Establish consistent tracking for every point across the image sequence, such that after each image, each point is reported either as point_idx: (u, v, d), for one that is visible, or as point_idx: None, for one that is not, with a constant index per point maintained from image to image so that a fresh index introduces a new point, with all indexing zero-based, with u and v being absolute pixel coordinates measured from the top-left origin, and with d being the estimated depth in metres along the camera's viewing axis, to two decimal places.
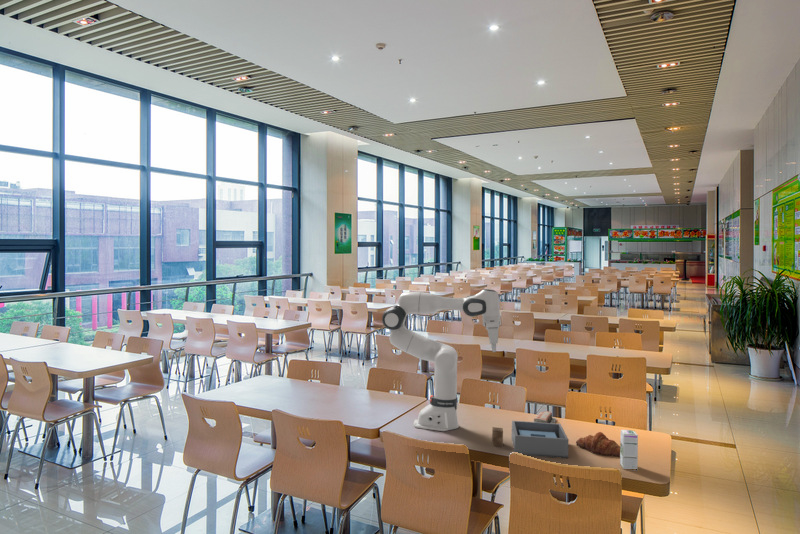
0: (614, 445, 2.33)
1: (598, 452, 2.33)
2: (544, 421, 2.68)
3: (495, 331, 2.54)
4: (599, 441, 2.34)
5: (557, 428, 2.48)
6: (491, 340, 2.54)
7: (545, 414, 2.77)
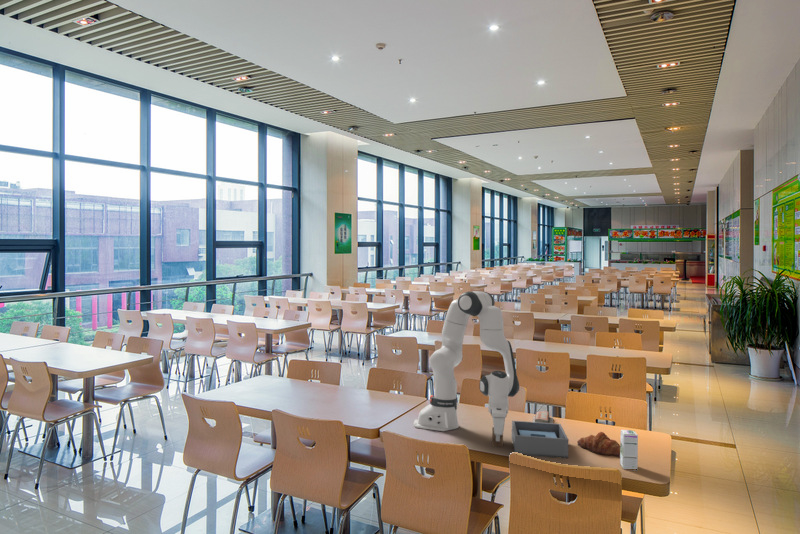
0: (615, 445, 2.33)
1: (599, 452, 2.33)
2: (546, 421, 2.68)
3: (501, 421, 2.32)
4: (600, 441, 2.34)
5: (557, 428, 2.48)
6: (496, 431, 2.32)
7: (544, 414, 2.78)
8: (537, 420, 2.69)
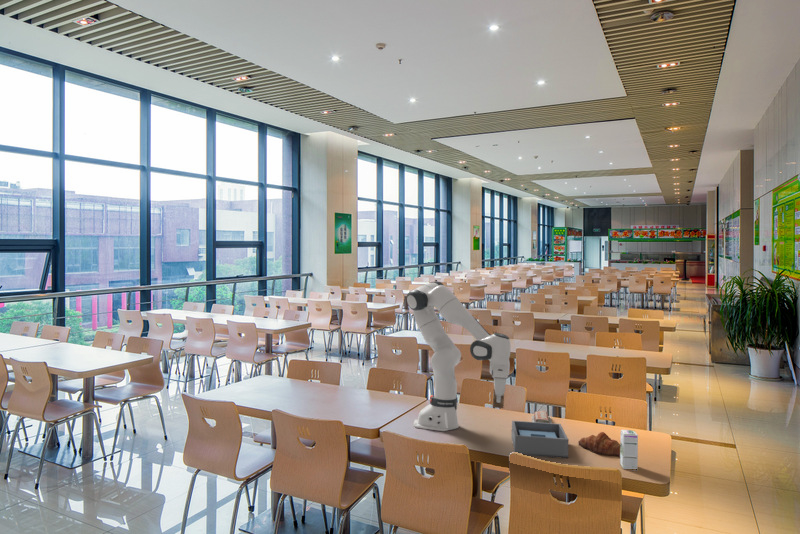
0: (616, 445, 2.33)
1: (600, 452, 2.33)
2: (546, 421, 2.68)
3: (503, 382, 2.32)
4: (601, 441, 2.34)
5: (557, 428, 2.48)
6: (497, 391, 2.32)
7: (543, 413, 2.78)
8: (538, 420, 2.69)
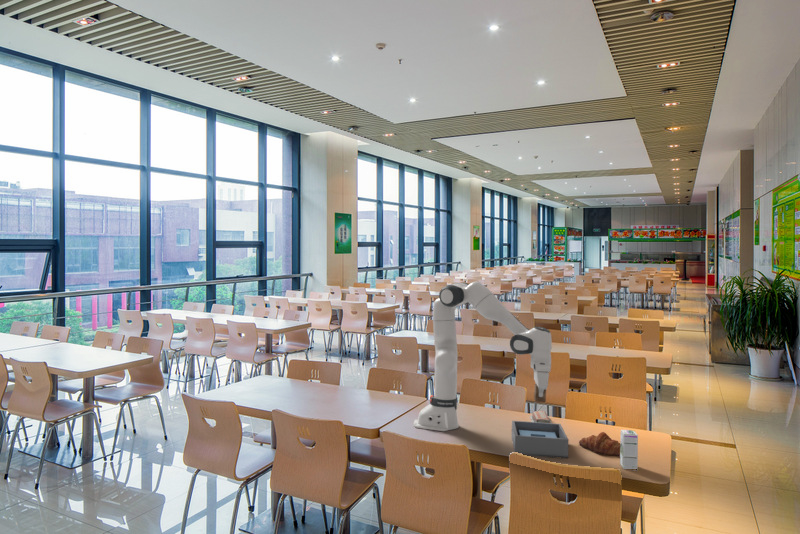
0: (617, 445, 2.33)
1: (601, 452, 2.33)
2: (547, 421, 2.68)
3: (546, 376, 2.30)
4: (602, 441, 2.34)
5: (557, 428, 2.48)
6: (540, 385, 2.29)
7: (542, 413, 2.78)
8: (539, 420, 2.69)
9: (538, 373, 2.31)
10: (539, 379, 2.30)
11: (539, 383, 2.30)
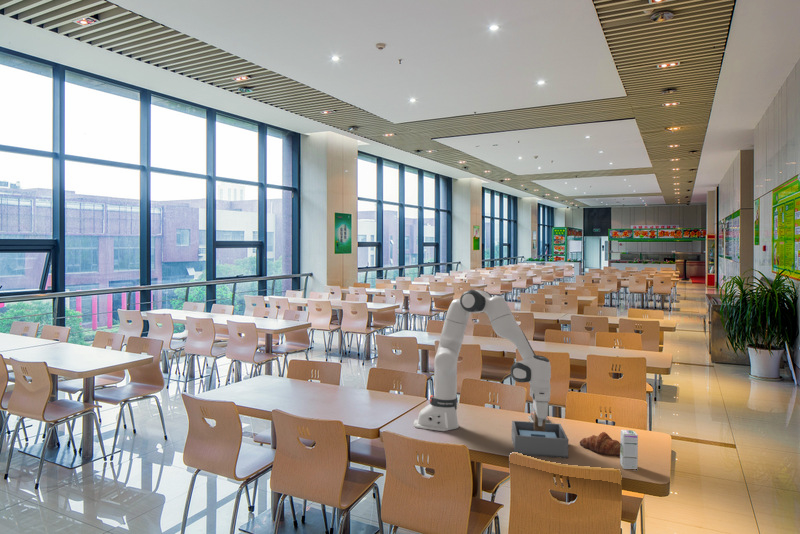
0: (618, 445, 2.33)
1: (602, 452, 2.33)
2: (548, 421, 2.68)
3: (545, 406, 2.30)
4: (603, 441, 2.34)
5: (557, 428, 2.48)
6: (539, 415, 2.30)
7: None
8: None
9: (537, 403, 2.31)
10: (538, 409, 2.30)
11: (538, 413, 2.30)
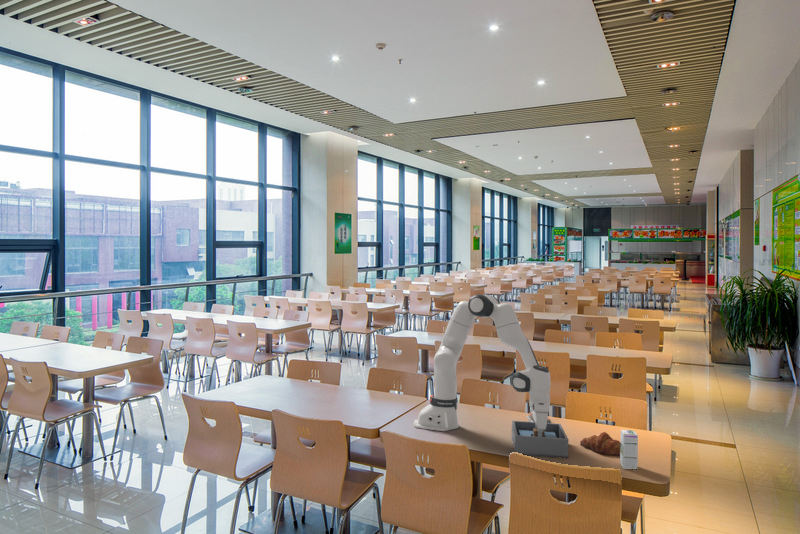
0: (619, 445, 2.33)
1: (602, 452, 2.33)
2: (548, 421, 2.69)
3: (544, 416, 2.30)
4: (604, 441, 2.34)
5: (557, 428, 2.48)
6: (539, 426, 2.30)
7: None
8: None
9: (537, 413, 2.31)
10: (538, 420, 2.30)
11: (538, 424, 2.30)
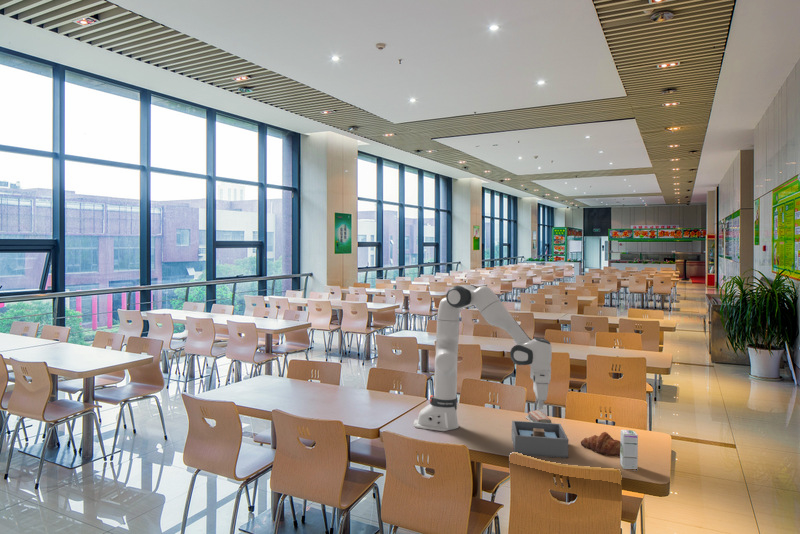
0: (619, 445, 2.33)
1: (603, 452, 2.33)
2: (549, 420, 2.69)
3: (545, 387, 2.30)
4: (604, 441, 2.34)
5: (557, 428, 2.48)
6: (539, 397, 2.29)
7: (539, 413, 2.79)
8: (541, 421, 2.69)
9: (538, 385, 2.31)
10: (538, 391, 2.30)
11: (538, 395, 2.30)
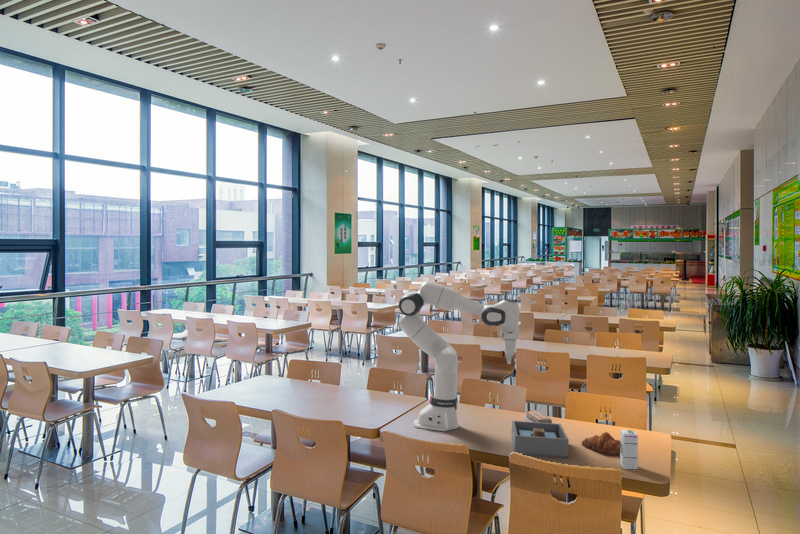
0: None
1: (604, 452, 2.33)
2: (549, 420, 2.69)
3: (513, 343, 2.49)
4: (605, 441, 2.34)
5: (557, 428, 2.48)
6: (507, 352, 2.49)
7: (538, 413, 2.79)
8: (542, 420, 2.69)
9: (506, 341, 2.50)
10: (506, 346, 2.49)
11: (506, 350, 2.49)
